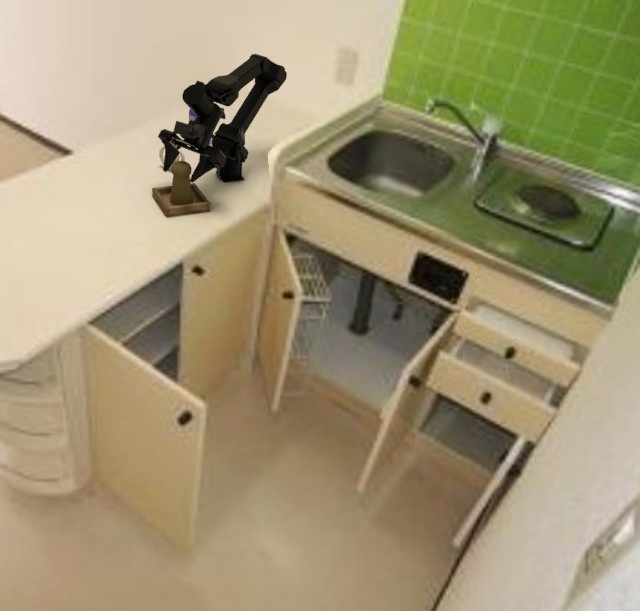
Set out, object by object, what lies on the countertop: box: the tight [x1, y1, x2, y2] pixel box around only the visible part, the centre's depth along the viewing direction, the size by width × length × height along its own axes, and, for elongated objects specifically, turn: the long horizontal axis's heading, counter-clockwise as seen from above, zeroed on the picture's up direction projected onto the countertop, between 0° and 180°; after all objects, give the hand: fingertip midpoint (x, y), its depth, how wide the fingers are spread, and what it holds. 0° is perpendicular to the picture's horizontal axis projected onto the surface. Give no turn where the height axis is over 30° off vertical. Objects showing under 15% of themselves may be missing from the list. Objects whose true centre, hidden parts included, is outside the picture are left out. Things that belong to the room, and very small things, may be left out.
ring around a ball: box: [158, 144, 186, 170], centre depth 187 cm, size 8×6×8 cm
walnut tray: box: [151, 182, 211, 218], centre depth 172 cm, size 12×12×2 cm
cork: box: [170, 160, 193, 206], centre depth 169 cm, size 6×6×11 cm
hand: (177, 176), depth 167 cm, fingers open, 8 cm apart
